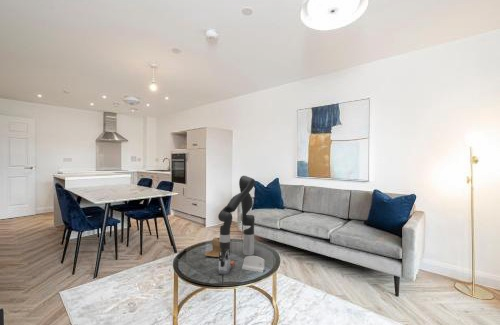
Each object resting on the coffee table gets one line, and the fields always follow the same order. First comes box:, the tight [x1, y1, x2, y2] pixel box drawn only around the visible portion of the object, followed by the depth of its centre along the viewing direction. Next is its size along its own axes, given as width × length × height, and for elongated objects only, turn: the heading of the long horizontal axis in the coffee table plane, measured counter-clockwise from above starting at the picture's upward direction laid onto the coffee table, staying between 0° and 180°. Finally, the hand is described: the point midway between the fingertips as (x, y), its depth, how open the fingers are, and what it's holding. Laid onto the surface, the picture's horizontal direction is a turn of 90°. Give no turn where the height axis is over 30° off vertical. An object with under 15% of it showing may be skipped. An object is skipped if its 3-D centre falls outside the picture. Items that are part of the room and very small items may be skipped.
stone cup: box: [204, 237, 221, 258], centre depth 200 cm, size 15×12×15 cm
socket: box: [218, 256, 231, 271], centre depth 166 cm, size 6×6×7 cm
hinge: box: [241, 255, 266, 273], centre depth 174 cm, size 17×5×10 cm, turn 69°
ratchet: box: [218, 260, 236, 276], centre depth 172 cm, size 19×7×8 cm, turn 162°
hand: (224, 264), depth 166 cm, fingers open, 6 cm apart
